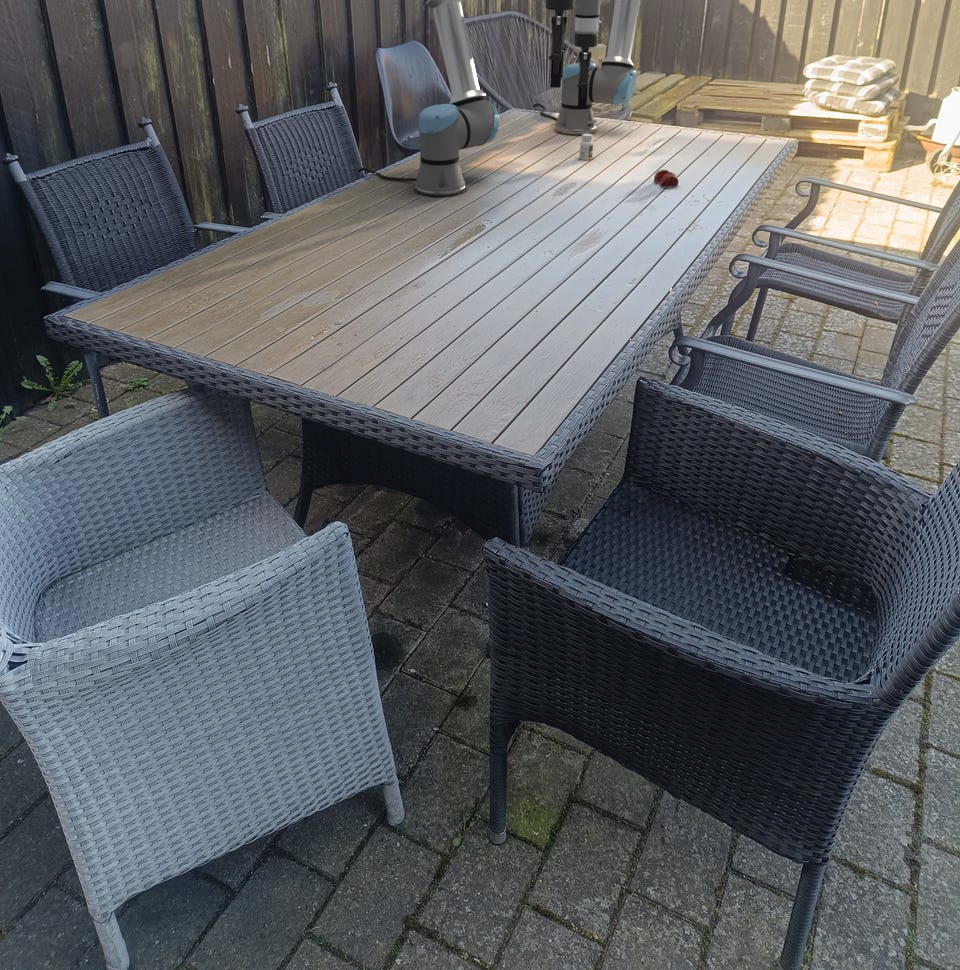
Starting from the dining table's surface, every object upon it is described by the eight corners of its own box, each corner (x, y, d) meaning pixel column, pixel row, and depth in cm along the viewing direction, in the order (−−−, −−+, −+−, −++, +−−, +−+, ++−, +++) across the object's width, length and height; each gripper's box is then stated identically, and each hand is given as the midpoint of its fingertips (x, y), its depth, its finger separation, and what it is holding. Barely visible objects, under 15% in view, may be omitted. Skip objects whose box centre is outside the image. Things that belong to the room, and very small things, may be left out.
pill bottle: (592, 160, 286) (593, 136, 281) (579, 160, 286) (580, 136, 282) (592, 157, 289) (593, 133, 285) (579, 156, 290) (580, 133, 285)
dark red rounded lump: (669, 166, 264) (680, 173, 258) (668, 179, 266) (679, 187, 260) (653, 168, 263) (663, 175, 257) (652, 181, 265) (662, 189, 259)
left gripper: (574, -3, 204) (568, 91, 216) (577, -14, 224) (571, 74, 236) (543, -4, 205) (539, 91, 217) (548, -14, 225) (545, 73, 237)
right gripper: (599, 38, 256) (593, 113, 269) (597, 26, 276) (592, 96, 289) (574, 38, 257) (570, 112, 270) (574, 26, 277) (571, 95, 290)
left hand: (556, 82), depth 227 cm, fingers open, 13 cm apart
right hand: (582, 104), depth 279 cm, fingers open, 13 cm apart
